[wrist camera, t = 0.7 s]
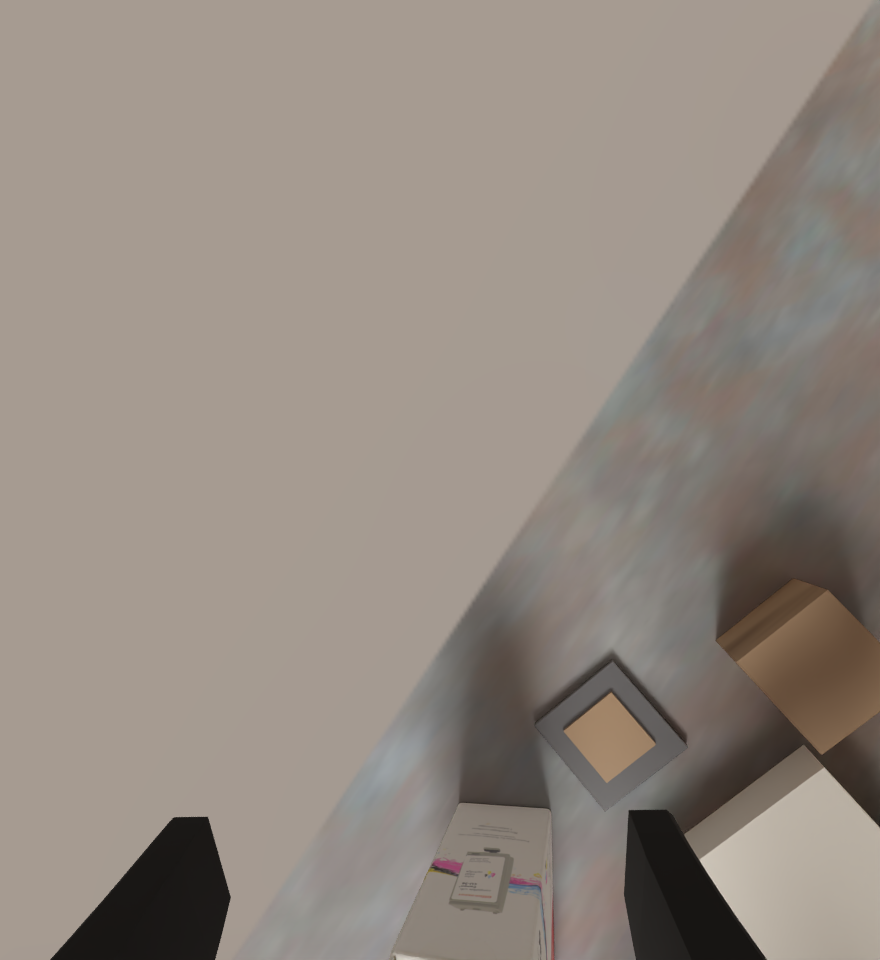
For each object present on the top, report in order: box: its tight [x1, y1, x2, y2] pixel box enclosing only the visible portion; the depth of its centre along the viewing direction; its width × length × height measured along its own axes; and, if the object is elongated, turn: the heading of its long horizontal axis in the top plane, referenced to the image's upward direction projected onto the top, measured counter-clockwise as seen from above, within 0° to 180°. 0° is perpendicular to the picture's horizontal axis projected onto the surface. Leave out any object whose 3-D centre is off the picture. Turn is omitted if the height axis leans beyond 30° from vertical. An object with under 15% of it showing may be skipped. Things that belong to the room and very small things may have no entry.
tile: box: [534, 660, 688, 811], centre depth 30 cm, size 5×5×1 cm
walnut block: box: [716, 578, 880, 755], centre depth 27 cm, size 4×4×4 cm
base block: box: [684, 745, 880, 960], centre depth 27 cm, size 9×9×3 cm
